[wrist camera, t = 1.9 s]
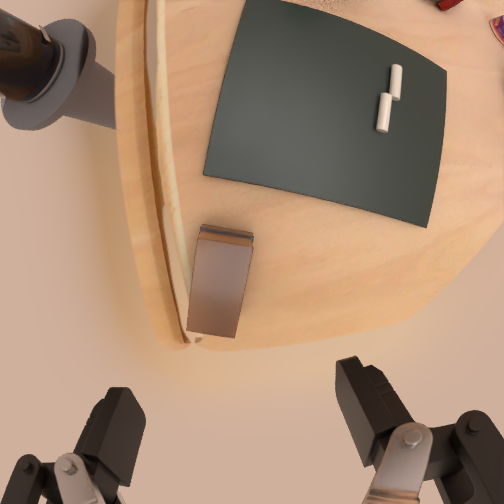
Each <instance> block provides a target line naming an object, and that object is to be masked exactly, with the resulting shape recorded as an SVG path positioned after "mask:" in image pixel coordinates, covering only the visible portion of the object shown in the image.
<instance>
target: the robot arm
mask: <svg viewBox="0 0 504 504" xmlns="http://www.w3.org/2000/svg"><path fill="white" fill-rule="evenodd" d="M39 27H40V29H41V31H40V30H39V29H37V28H35V27H33V26H32V25H30V24H28V23H26V22H25V21H23V20H21V19H19V18H17V17H15V16H13V15H12V14H10V13H8V12H6V11H4V10H2V9H0V98H6V99H10V100H15V101H18V102H21V103H26V104H28V103H32V102H35V101H37V100H38V99H40V98H41V97H42V96H44V95H45V94H46V93H47V92H48V91H49V89H50V88H51V87H52V86H53V84H54V83H55V81H56V80H57V78H58V76H59V74H60V72H61V70H62V67H63V64H64V60H65V48H64V45H63V44H62V43H61V42H60V41H58V40H57V39H55V38H52V37H50V36H49V35H47V33H46V31H45V29H44V28H43V27H41V26H40V25H39ZM335 386H336V387H335V390H336V397H337V400H338V404H339V406H340V408H341V411H342V413H343V416H344V418H345V420H346V423H347V425H348V428H349V430H350V433H351V435H352V438H353V440H354V443H355V445H356V448H357V450H358V453H359V455H360V458H361V460H362V463H363V466H364V467H367V466H370V465H373V466H374V468H375V471H376V474H375V476H374V478H373V480H372V483H371V485H370V487H369V489H368V492H367V494H366V496H365V498H364V500H363V502H362V504H419V502H420V500H419V498H418V495H419V492H420V488H421V485H422V482H423V481H427V480H431V479H434V481H435V484H436V486H437V488H438V491H439V493H440V495H441V498H442V500H443V503H444V504H504V439H503V437H502V435H501V434H500V432H499V431H498V430H497V428H496V427H495V425H494V424H493V422H492V421H491V419H490V418H489V417H488V416H487V415H486V414H485V413H484V412H481V411H478V410H473V411H468V412H466V413H464V414H462V415H461V416H460V417H459V419H458V421H457V422H456V423H455V424H450V425H446V426H441V427H435V428H428V427H427V426H425V425H424V424H421V423H416V422H415V421H414V420H413V419H412V417H411V416H410V414H409V412H408V411H407V409H406V408H405V406H404V404H403V403H402V401H401V400H400V398H399V397H398V395H397V394H396V392H395V391H394V390H393V387H392V386H391V384H390V383H389V382H388V380H387V378H386V377H385V375H384V374H383V372H382V371H381V370H379V369H377V368H376V367H374V366H373V365H369V366H366V367H363V365H362V364H361V362H360V360H359V359H358V357H357V356H353V357H349V358H345V359H342V360H338V361H337V362H336V381H335ZM145 425H146V418H145V414H144V412H143V410H142V408H141V407H140V405H139V403H138V402H137V400H136V398H135V397H134V395H133V393H132V391H131V390H130V389H129V388H127V387H111V388H109V390H108V392H107V394H106V396H105V398H104V399H101V400H100V401H99V402H98V403H97V404H96V405H95V407H94V408H93V410H92V412H91V414H90V418H88V420H87V422H86V425H85V427H84V429H83V431H82V433H81V436H80V438H79V440H78V442H77V445H76V447H75V449H74V451H73V453H66V454H63V455H62V456H60V457H59V458H58V459H57V461H56V462H54V463H41V462H40V461H39V460H38V459H37V458H36V457H35V456H34V455H31V454H27V455H24V456H22V457H21V458H20V459H19V460H18V461H17V463H16V466H15V468H14V470H13V472H12V475H11V477H10V480H9V482H8V485H7V487H6V490H5V493H4V496H3V498H2V501H1V504H38V502H39V499H40V496H41V495H42V496H43V497H45V498H46V499H47V502H46V504H126V503H125V501H124V500H123V498H122V496H121V494H120V493H119V491H117V490H118V486H119V485H121V486H126V487H129V486H130V483H131V479H132V474H133V470H134V466H135V462H136V458H137V455H138V451H139V447H140V443H141V440H142V436H143V432H144V429H145Z"/></svg>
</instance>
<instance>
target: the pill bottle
mask: <svg viewBox="0 0 504 504" xmlns="http://www.w3.org/2000/svg"><path fill="white" fill-rule="evenodd" d="M490 24H491V28H492V30H493V32H494V34H495V35H496V37H497V38H498V39H499V41H500V42H501V43H502V44H504V15H502V16H500V17H497V18H494V19H492V20H491V21H490Z"/></svg>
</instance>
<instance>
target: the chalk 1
mask: <svg viewBox="0 0 504 504" xmlns="http://www.w3.org/2000/svg"><path fill="white" fill-rule="evenodd" d="M391 104H392V95H390V94H388V93H381V96H380V104H379V111H378V118H377V125H376V130H377V131H379V132H382V133H387V132H388V127H389V120H390V112H391Z"/></svg>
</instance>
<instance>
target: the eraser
mask: <svg viewBox="0 0 504 504" xmlns="http://www.w3.org/2000/svg"><path fill="white" fill-rule="evenodd" d="M253 238H254V236H253V233H250V232H245V231H239V230H234V229H228V228H222V227H216V226H211V225H205V224H202V226H201V227H200V232H199V237H198V240H197V247H196V254H195V261H194V268H193V276H192V284H191V292H190V300H189V309H188V318H187V328H186V330H187V331H191V332H197V333H203V334H209V335H215V336H221V337H228V338H235V334H236V330H237V325H238V320H239V315H240V310H241V305H242V300H243V296H244V291H245V286H246V281H247V276H248V271H249V267H250V262H251V257H252V252H253V244H252V243H253Z"/></svg>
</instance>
